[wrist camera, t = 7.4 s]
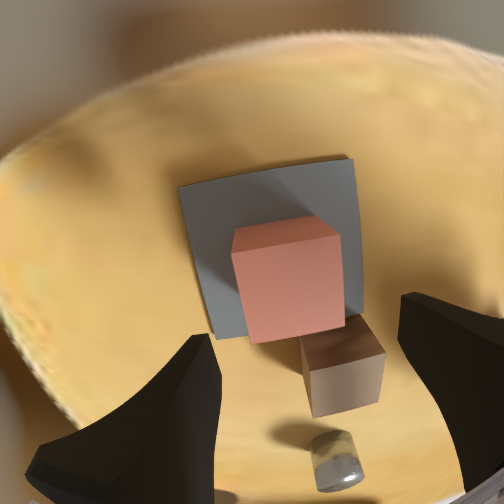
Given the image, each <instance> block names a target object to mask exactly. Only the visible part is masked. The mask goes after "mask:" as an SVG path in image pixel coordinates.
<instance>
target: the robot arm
mask: <svg viewBox="0 0 504 504" xmlns="http://www.w3.org/2000/svg"><path fill="white" fill-rule="evenodd" d="M397 340H398V342H399V344H400V346H401V348H402V350H403V352H404V354H405V356H406V358H407V359H408V361H409V362H410V364H411V365H412V367H413V368H414V370H415V371H416V373H417V374H418V376H419V377H420V379H421V380H422V381H423V383H424V384H425V386H426V387H427V389H428V390H429V392H430V393H431V395H432V396H433V398H434V400H435V401H436V403H437V405H438V407H439V409H440V411H441V413H442V415H443V417H444V420H445V422H446V424H447V427H448V429H449V432H450V434H451V437H452V440H453V443H454V446H455V449H456V452H457V456H458V459H459V463H460V468H461V472H462V477H463V483H464V490H465V492H466V494H465V495H463V496H461V497H460V498H458V499H456V500H455V501H453V502H451V503H449V504H483V503H484V502H486V501H487V500H489V499H490V498H491V497H493V496H494V495H495V494H497V493H498V492H499V491H500V492H499V494H498V498H497V500H496V501H495V502H494V503H493V504H504V320H503V319H499V318H494V317H490V316H486V315H483V314H479V313H476V312H473V311H470V310H467V309H464V308H461V307H458V306H455V305H452V304H450V303H447V302H444V301H442V300H439V299H436V298H433V297H430V296H427V295H424V294H421V293H417V292H412V293H409V294H405V295H401V308H400V319H399V329H398V338H397ZM221 400H222V374H221V371H220V368H219V365H218V362H217V359H216V356H215V353H214V350H213V347H212V344H211V340H210V337H209V334H208V333H206V334H198V335H192V336H191V337H190V338H189V339H188V340H187V341H186V342H185V343H184V345H183V346H182V347H181V348H180V349H179V350H178V351H177V353H176V354H175V355H174V356H173V357H172V358H171V359H170V361H169V362H168V363H167V364H166V365H165V366H164V367H163V368H162V369H161V370H160V371H159V372H158V373H157V374H156V375H155V376H154V377H153V378H152V379H151V380H150V381H149V382H148V383H147V384H146V385H145V386H144V387H143V388H142V389H141V390H140V391H139V392H137V393H136V394H135V395H134V396H133V397H131V398H130V399H129V400H128V401H126V402H125V403H124V404H122V405H121V406H120V407H118V408H117V409H115V410H114V411H112V412H111V413H109V414H108V415H106V416H104V417H103V418H101V419H100V420H98V421H96V422H95V423H93V424H91V425H89V426H87V427H85V428H83V429H81V430H79V431H77V432H75V433H73V434H70V435H68V436H65V437H63V438H60V439H57V440H54V441H51V442H49V443H46V444H42V445H40V446H39V448H38V450H37V452H36V453H35V455H34V457H33V459H32V461H31V463H30V465H29V467H28V469H27V471H26V473H25V476H26V479H27V480H28V482H29V483H30V484H31V485H32V486H33V487H35V488H36V489H37V490H38V491H39V492H41V493H42V494H43V495H45V496H46V497H47V498H49V499H50V500H51V501H53V502H54V503H56V504H214V451H215V442H216V435H217V428H218V421H219V415H220V407H221ZM29 504H39V503H37V502H35V501H33V500H32V501H30V503H29Z"/></svg>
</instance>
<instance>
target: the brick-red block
mask: <svg viewBox="0 0 504 504" xmlns="http://www.w3.org/2000/svg"><path fill="white" fill-rule="evenodd" d="M231 257H232V261H233V266H234V271H235V275H236V280H237V284H238V289H239V293H240V298H241V302H242V307H243V311H244V316H245V320H246V324H247V329H248V333H249V337H250V342H251V344H256V343H262V342H268V341H274V340H280V339H285V338H291V337H296V336H301V335H306V334H311V333H316V332H321V331H326V330H330V329H335V328H339V327H343V326H345V308H344V284H343V267H342V253H341V241H340V234H339V233H338V232H336V231H335V230H334V229H333V228H331V227H330V226H329V225H327V224H326V223H325V222H324V221H322V220H321V219H320V218H318V217H317V216H316V215H311V216H305V217H299V218H293V219H287V220H281V221H275V222H269V223H264V224H258V225H252V226H247V227H241V228H236V229H235V233H234V239H233V244H232V250H231Z"/></svg>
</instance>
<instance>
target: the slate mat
mask: <svg viewBox="0 0 504 504" xmlns="http://www.w3.org/2000/svg"><path fill="white" fill-rule="evenodd" d="M178 193H179V198H180V202H181V207H182V211H183V216H184V220H185V225H186V229H187V233H188V237H189V241H190V246H191V250H192V254H193V258H194V262H195V266H196V269H197V273H198V277H199V281H200V285H201V288H202V292H203V296H204V299H205V303H206V306H207V310H208V314H209V317H210V320H211V324H212V327H213V331H214V334H215V337H216V340H220V339H227V338H234V337H241V336H248V335H249V333H248V329H247V324H246V320H245V316H244V311H243V307H242V302H241V298H240V293H239V289H238V284H237V280H236V275H235V271H234V266H233V261H232V257H231V250H232V244H233V239H234V233H235V229H236V228H241V227H247V226H252V225H258V224H264V223H269V222H275V221H281V220H287V219H293V218H299V217H305V216H311V215H316V216H317V217H318V218H320V219H321V220H322V221H324V222H325V223H326V224H327V225H329V226H330V227H331V228H333V229H334V230H335V231H336V232H338V233H339V234H340V241H341V253H342V267H343V284H344V308H345V317H348V316H352V315H356V314H360V313H363V267H362V245H361V230H360V217H359V206H358V196H357V187H356V179H355V171H354V164H353V159H343V160H334V161H325V162H317V163H310V164H302V165H295V166H288V167H282V168H275V169H269V170H263V171H257V172H251V173H246V174H240V175H235V176H230V177H225V178H220V179H215V180H210V181H205V182H200V183H196V184H191V185H187V186H182V187H178Z"/></svg>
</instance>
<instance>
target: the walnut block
mask: <svg viewBox="0 0 504 504" xmlns="http://www.w3.org/2000/svg"><path fill="white" fill-rule="evenodd" d="M299 344H300V354H301V364H302V374H303V379H304V383H305V387H306V392H307V396H308V400H309V404H310V409H311V413H312V417H313V418H318V417H323V416H327V415H332V414H336V413H340V412H344V411H348V410H352V409H356V408H359V407H363V406H366V405H370V404H373V403H376V402H378V400H379V394H380V389H381V383H382V377H383V370H384V363H385V356H386V352H385V350H384V349H383V347H382V346H381V344H380V343H379V341H378V340H377V338H376V337H375V335H374V334H373V332H372V331H371V329H370V328H369V326H368V325H367V323H366V322H365V320H364V319H363V318H362V316H361V315H358V316H354V317H350V318H345V326H343V327H339V328H335V329H330V330H326V331H321V332H316V333H311V334H306V335H301V336H299Z"/></svg>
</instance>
